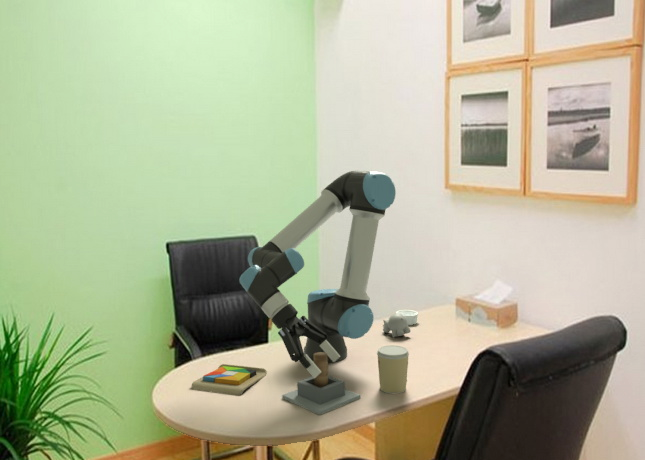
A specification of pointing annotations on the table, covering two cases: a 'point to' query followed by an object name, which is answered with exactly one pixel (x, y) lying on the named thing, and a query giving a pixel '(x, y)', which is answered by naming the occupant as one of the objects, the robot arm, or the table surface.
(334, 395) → the socket
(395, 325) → the toy rhinoceros
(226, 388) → the wooden puzzle
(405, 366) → the coffee cup
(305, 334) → the robot arm
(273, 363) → the table surface
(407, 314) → the ramekin
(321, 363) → the peg
